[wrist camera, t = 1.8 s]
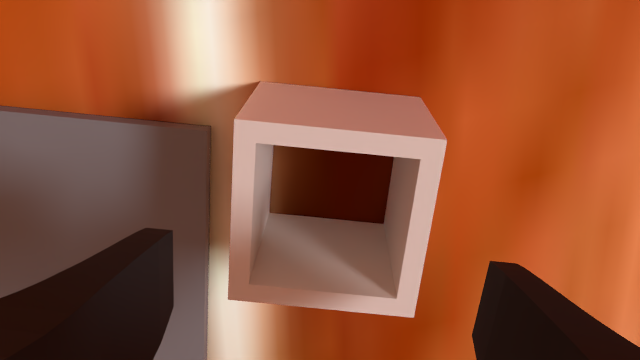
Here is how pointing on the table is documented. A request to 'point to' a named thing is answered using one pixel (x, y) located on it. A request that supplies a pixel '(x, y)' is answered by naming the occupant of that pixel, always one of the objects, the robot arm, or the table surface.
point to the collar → (322, 233)
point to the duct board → (106, 203)
